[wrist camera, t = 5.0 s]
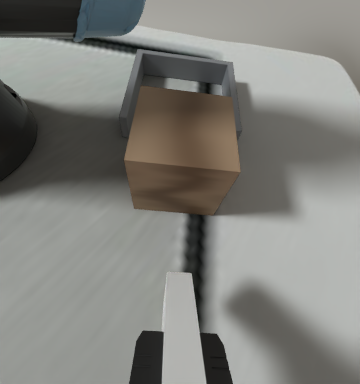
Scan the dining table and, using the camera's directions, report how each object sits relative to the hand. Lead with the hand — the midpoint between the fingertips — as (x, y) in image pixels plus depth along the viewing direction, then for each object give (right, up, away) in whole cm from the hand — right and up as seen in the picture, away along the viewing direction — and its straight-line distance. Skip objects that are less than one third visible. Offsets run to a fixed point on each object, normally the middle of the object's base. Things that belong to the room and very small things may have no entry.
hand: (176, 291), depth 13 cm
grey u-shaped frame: (0, +18, +16) cm, 24 cm away
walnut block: (0, +8, +10) cm, 13 cm away
